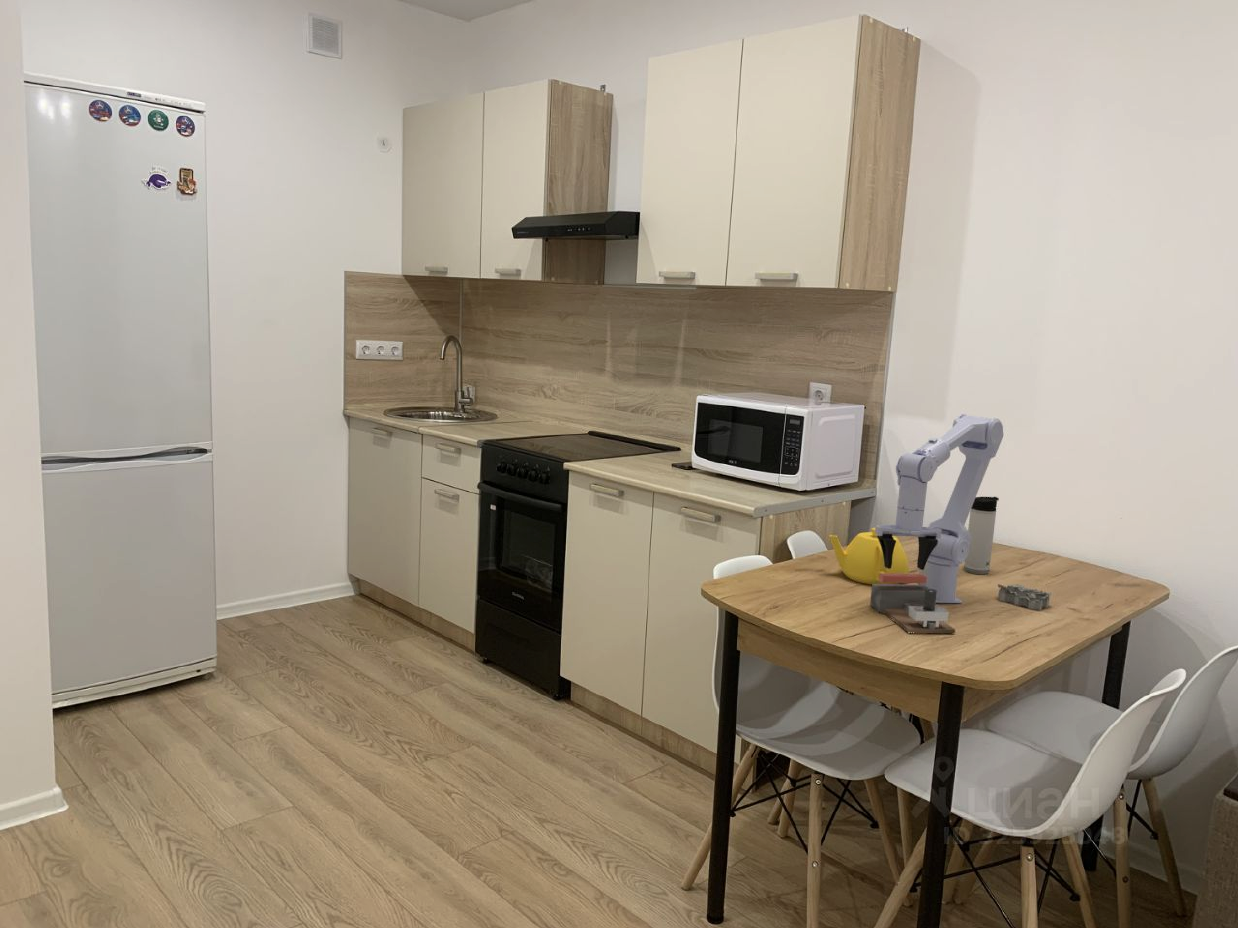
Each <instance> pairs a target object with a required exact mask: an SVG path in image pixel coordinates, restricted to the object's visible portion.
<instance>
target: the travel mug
mask: <svg viewBox="0 0 1238 928" xmlns="http://www.w3.org/2000/svg"><path fill="white" fill-rule="evenodd" d="M999 500H1000V499H999V497H998V496H976V498H975V500H974V503H973V505H972V508H971V510H970V513H969V521H968V527H967V528H968V529H967V530H968V531H969V533H970V535H971V537H972V539H971V542H970V546H969V554H968V556H967V558H966V560H965V561H964V566H963V570H964V571H965V572H967V573H969V574H975V575H987V574H989V573H990V567H991V559H992V551H993V541H994V532H995V526H996V515H997V504H998V501H999Z"/></svg>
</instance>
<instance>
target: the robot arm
mask: <svg viewBox="0 0 1238 928" xmlns="http://www.w3.org/2000/svg"><path fill="white" fill-rule="evenodd" d="M1003 438H1004V426H1003V423H1002V421H1001V420H1000V419H999V418H996V417H995V418H990V417H989V418H988V417H983V416H975V415H974V416H973V415H967V414H959V415H958V416H957V417H956V418H954V420H953V423H952V427H951V428H950V429H949V430H948V431H947V432H946V433H944V434H943V435H942V436H941V437H940V438H937V437H931V438H930V439H928V440H927V442H925V443H924V444H923V445H922V446H920V447H919V448H917V449H916V450H915V451H913V452H912V453H909V452H906V453H904V454H902V455H901V456H900V458H898V460H897V464H896V465H895V472H896V476H897V481H896V482H897V486H899V489H898V499H897V508H896V517H895V524H887V525H885V524H884V525H875V527H874V528H875V534H876V535H877V537H878V540H879V542H880V545H881V548H882V552H883V557H884V566H885V567H886V568H888V569H891V566H892V557H893V551H894V547H895V544H896V540H894V539H893V537H892V536H894V537H911V538H912V537H916V538H917V539H918V540H917V541H918V555H917V561H916V562H917V564H916V567H917V569H919V571H918V574H923V575H924V576H926V577H927V578H926V584H924V583H917V585H924V586H926V587H927V588H929V589H934V590H936V591H937V596H936V604H963V600H961V599H960V598H958V597H956V594H957V585H958V577H959V569H960V568H959V567H960V565H962V564H963V563H965V560H966V558H967V556H968V554H969V546H970V542H971V539H972V537H971V535H970V533H969V531H968V529H967V527H966V526H965V525H966V522H967V520H968V517H969V516H970V511H971V508H972V505H973V503H974V500H975V498H976V497H977V495H978V493H979V491H980V490H979V489H980V488H981V484H982V482H983V480H984V477H985V474H986V472H987V470H988V467H989V465H990V462H991V460H992V459H993V458H995V457H996V456H997V453H998V451H999V449H1000V445H1001V444H1002V441H1003ZM956 448H958V449H959V452H960V453H962V454H963V455H964V456H965V460H964V462H963V466H962V467H961V470H960V473H959V475H958V477H957V479H956V480H957V481H956V483H955V485H954V488H953V491H952V492H951V495H950V497H949V500H948V502H947V504H946V507H945V510H944V512H943V514H942V516H941V518H939V519H936V520H934V521H932V522H930V523H929V525H928V526H923V525H924V515H925V509H926V500H927V499H926V498H927V497H926V496H927V489H928V482H931V480H932V479H933V477H934V475H935V472H937V470H938V468H939V467H940V466H941V465H942V464H944V463H945V462H946V461H948V460H949V458H950V456H951V451H953V450H954V449H956Z"/></svg>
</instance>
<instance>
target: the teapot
mask: <svg viewBox="0 0 1238 928" xmlns="http://www.w3.org/2000/svg"><path fill="white" fill-rule="evenodd" d="M892 537H893V539H894V540H896V544H895V547H894V551H893V557H892V566H891V569H888V568H886V567H885V566H884V557H883V552H882V548H881V545H880V542H879V540H878V537H877V535H876V534H875V527H872V528H871V531H868V532H867V531H866V532H860V533H857V534H856V535H855V536H854V538H853V539H852V540H851V541H850V543H849V544H848V546H847V547H846V548H845V550H844V549H843V547H842V544H841V543H840V541H839V538H838V535H835V534H834V535H832V534H829V539H830V542H831V543H830V544H832V548H833V551H834V553H835V557H836V560H837V562H838V565H839V567H840V569H841V571H842V572H843V573H844V575H845V576H846V577H847V578H848V579H849V578H850V579H849V580H851V579H852V580H851V581H854V580H855V581H854V582H857V583H860V582H861V583H862V584H865V583H866V585H870V584H901V583H882V582H881V581H880V580H879V573H896V574H910V565H909V561H908V557H907V554H906V552H905V550H904V547H903V546H902V543H901V542H900V540H899V539H898V538H897V536H892ZM861 583H860V584H861Z"/></svg>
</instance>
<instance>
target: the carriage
mask: <svg viewBox="0 0 1238 928" xmlns="http://www.w3.org/2000/svg"><path fill="white" fill-rule="evenodd" d="M936 596H937V591H936V590H934V589H925V593H924V603H923V606H909V616H910V617H911V618H913V619H914V620H915V621H917V622H918V623H919V624H920V625H922V626H923V627H927V621H932V622H934V623H935V627H939V621H944V622H948V621H949V613H950V612H949V611H948V610H947V609H946V608H944V607H943V606H936V604H937V603H936Z"/></svg>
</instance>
